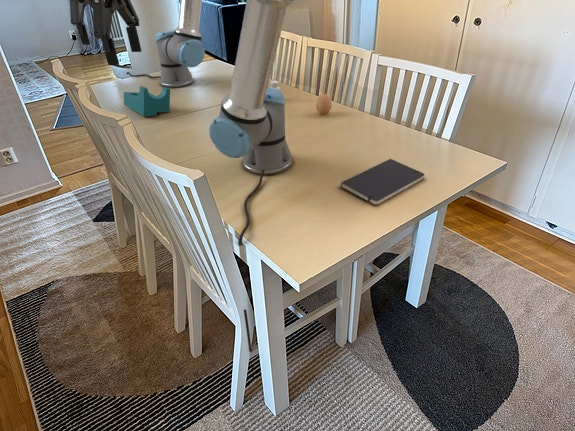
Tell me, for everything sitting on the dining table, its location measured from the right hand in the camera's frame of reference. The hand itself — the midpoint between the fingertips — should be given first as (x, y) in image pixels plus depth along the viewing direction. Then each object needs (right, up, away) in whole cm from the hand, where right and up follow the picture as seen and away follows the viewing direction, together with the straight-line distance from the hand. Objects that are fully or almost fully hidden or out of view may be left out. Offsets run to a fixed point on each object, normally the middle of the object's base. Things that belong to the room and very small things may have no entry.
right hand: (125, 58), depth 111 cm
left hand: (-27, +22, +40) cm, 53 cm away
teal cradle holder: (-12, 0, +55) cm, 57 cm away
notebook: (+72, -34, +4) cm, 80 cm away
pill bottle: (+39, +6, +61) cm, 72 cm away
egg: (+59, -4, +46) cm, 75 cm away
